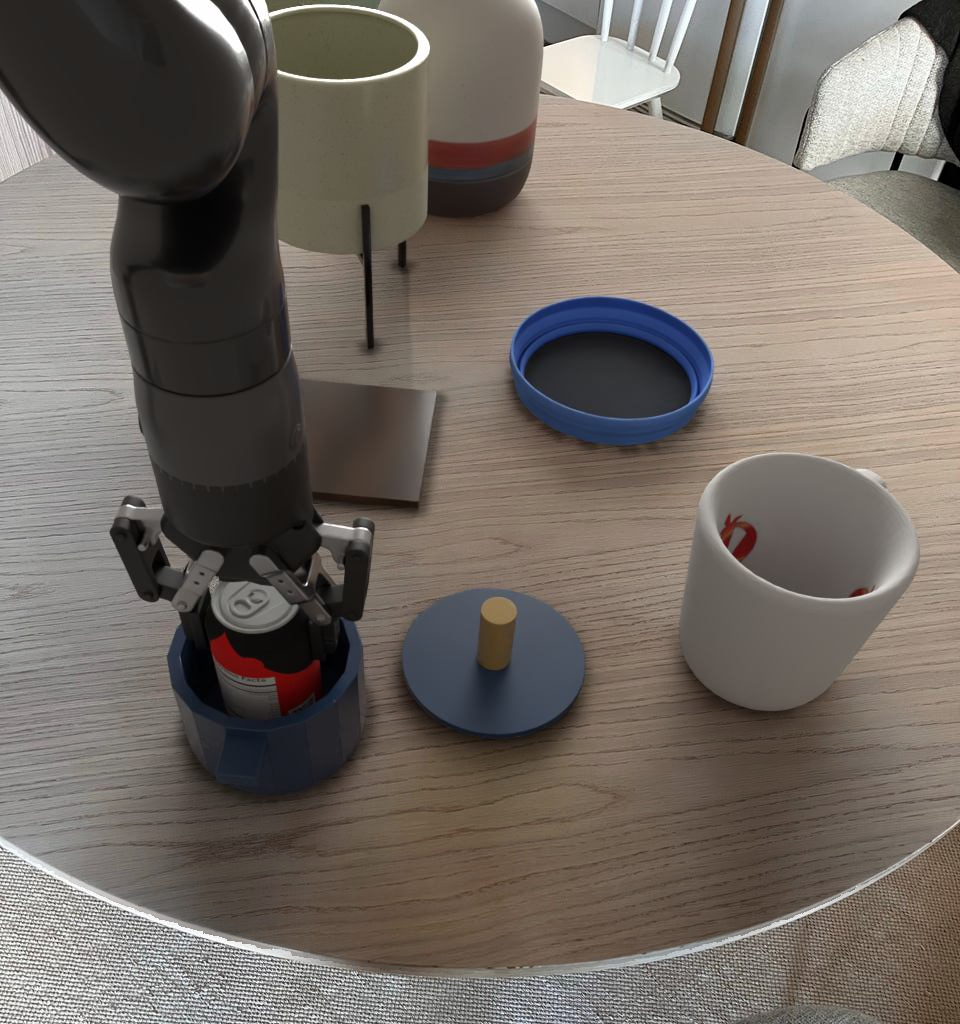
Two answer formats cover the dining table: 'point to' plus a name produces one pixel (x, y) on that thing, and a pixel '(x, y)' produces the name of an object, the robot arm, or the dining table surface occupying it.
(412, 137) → the planter
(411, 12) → the vase
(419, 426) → the trivet
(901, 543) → the cup
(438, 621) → the pot lid
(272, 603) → the beverage can
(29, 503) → the dining table surface
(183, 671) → the pot
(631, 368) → the bowl
